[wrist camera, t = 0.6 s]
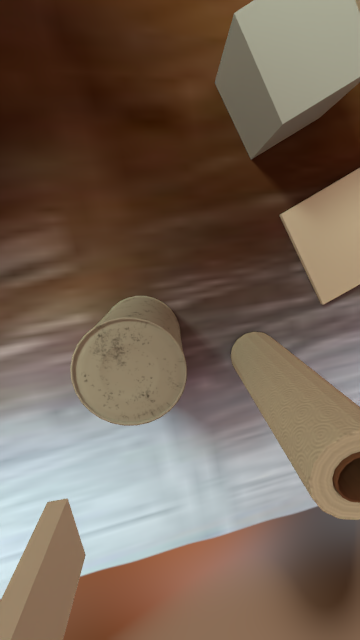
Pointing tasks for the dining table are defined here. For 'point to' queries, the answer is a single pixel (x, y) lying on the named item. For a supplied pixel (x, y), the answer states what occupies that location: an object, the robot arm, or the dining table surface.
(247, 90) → the pale sage cube
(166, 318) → the speckled beige cylinder
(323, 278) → the mat
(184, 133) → the dining table surface
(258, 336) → the paper towel roll
